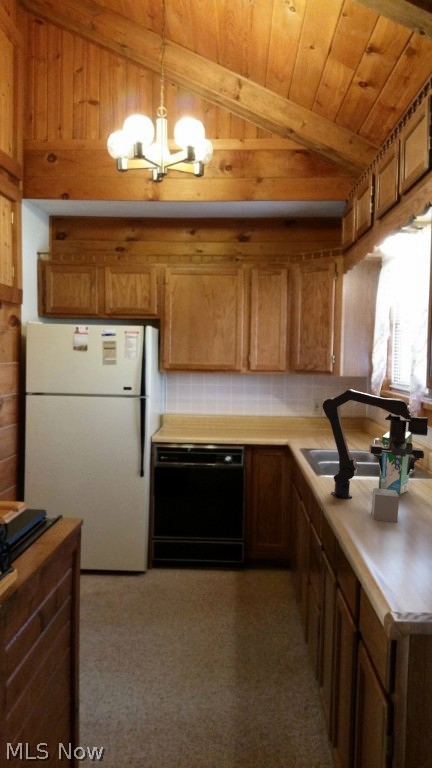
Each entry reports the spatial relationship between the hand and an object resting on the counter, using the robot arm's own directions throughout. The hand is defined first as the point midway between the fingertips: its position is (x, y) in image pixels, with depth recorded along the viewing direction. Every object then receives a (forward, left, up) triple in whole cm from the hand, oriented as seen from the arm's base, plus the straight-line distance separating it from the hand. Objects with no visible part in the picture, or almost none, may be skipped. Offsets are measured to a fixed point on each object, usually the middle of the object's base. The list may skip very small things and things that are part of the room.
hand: (394, 473), depth 174 cm
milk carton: (-18, +10, -12) cm, 24 cm away
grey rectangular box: (+13, -10, -12) cm, 20 cm away
